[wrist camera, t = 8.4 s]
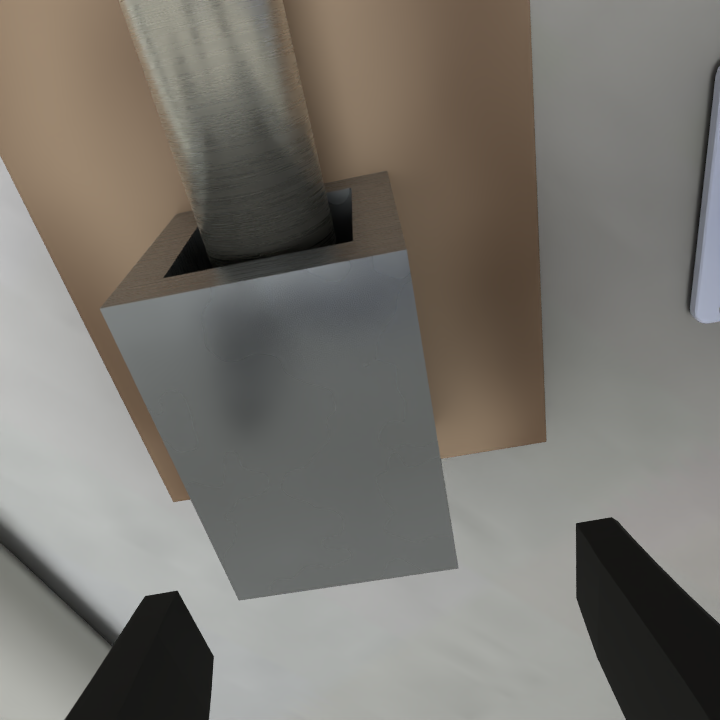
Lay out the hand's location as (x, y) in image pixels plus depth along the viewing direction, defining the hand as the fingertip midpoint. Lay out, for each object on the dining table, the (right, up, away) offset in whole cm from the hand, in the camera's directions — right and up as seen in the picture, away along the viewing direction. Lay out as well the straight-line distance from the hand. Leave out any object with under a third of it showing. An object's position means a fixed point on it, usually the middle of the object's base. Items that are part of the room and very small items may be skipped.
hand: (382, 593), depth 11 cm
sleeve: (-2, +5, +8) cm, 9 cm away
